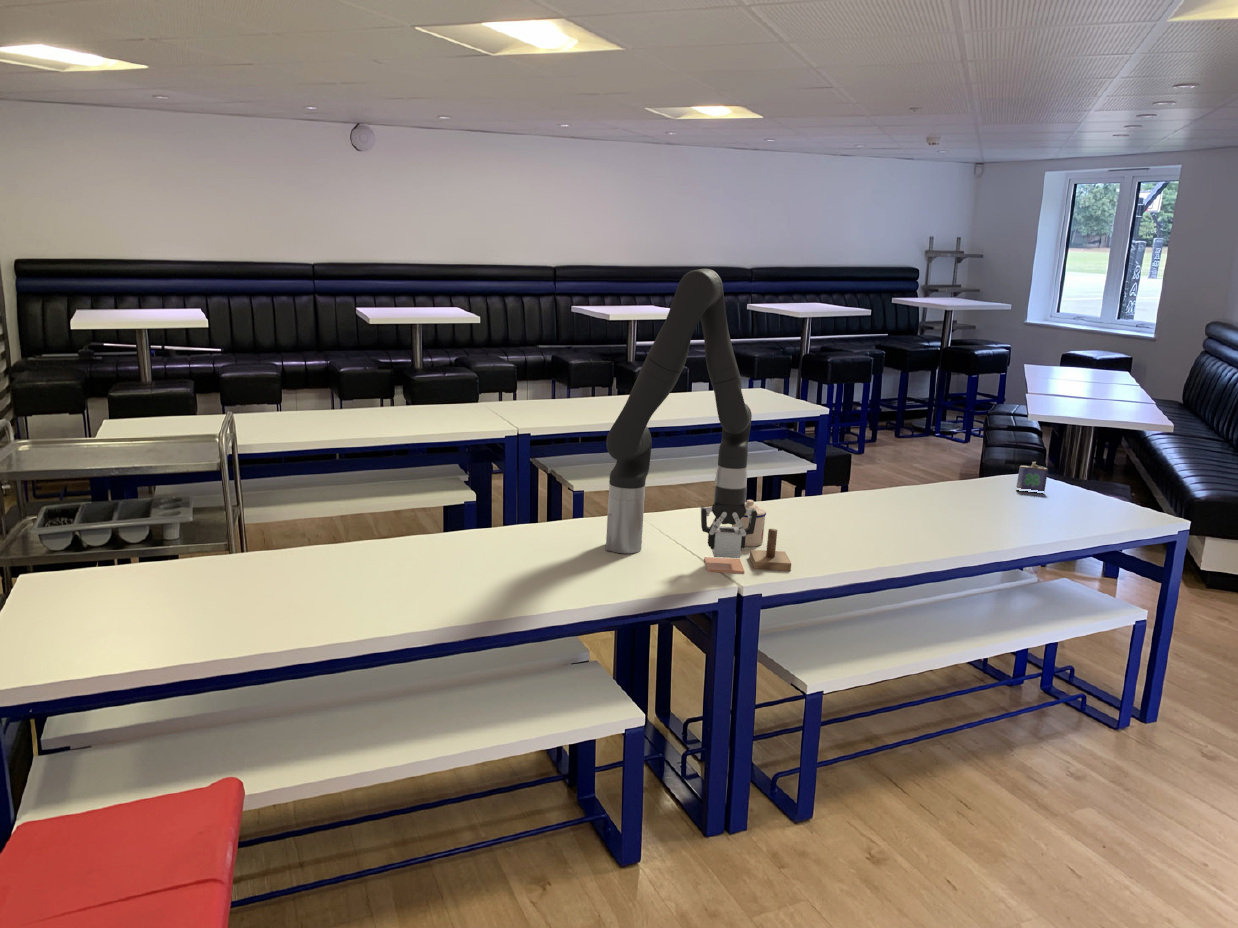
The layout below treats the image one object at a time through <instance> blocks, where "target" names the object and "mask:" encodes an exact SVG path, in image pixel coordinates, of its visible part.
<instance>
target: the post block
mask: <svg viewBox="0 0 1238 928" xmlns="http://www.w3.org/2000/svg"><path fill="white" fill-rule="evenodd" d="M767 531H768V532H767V540H766V541H767V544H766V550H764V549H763V550H762V549H750V550H749V559H750V562H751V564H752V566H753V569H754V570H763V571H765V570H766V571H767V570H768V571H783V572H787V571H788V572H791V571H792V562H791V560H790V557H788V555H787V553H786V551H785V550H784V551H782V550H776V547H777V538H778V529H775V528H768V530H767Z"/></svg>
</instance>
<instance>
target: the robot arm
mask: <svg viewBox="0 0 1238 928" xmlns="http://www.w3.org/2000/svg"><path fill="white" fill-rule="evenodd" d="M676 287H677V288H676V291H675V293H674V297H673V299H672V302H671V305H670V308H669V311H668V313H667V315H666V319H665V321H664V323H663V325H662V326H661V328H660V330H659V331H658V334H657V336H656V338H655V340H654V341H653V343H652V344H651V345H652V346H651V347H650V349H649V351H648V353H647V355H646V356H645V359H644V362H643V364H642V366H641V368H640V370H639V372H638V376H637V377H636V381H635V382H634V385H633V386H632V389H631V391H630V393H629V395H628V398H627V400H626V402H625V404H624V406H623V408H622V409H621V411H620V413H619V414H618V417H617V418H616V420H615V422H614V423H613V424H612V426H611V427H610V429H609V432H608V433H607V436H606V449H607V453H608V455H610V457H611V458H612V459H614V460H616V462H615V465H614V467H613V468H612V470H611V471H610V473H609V478H608V479H609V481H608V483H609V484H608V499H607V501H608V502H607V503H608V504H607V517H606V518H607V521H606V534H605V535H606V536H605V551H606V552H608V551H609V552H613V553H618V554H635V553H638V552H640V551H641V550H642V547H643V546H642V544H643V527H644V509H645V497H646V496H645V495H646V480H647V477H648V475H649V472H650V464H651V455H652V453H651V452H652V434H651V432H650V429H649V428H648V423H649V421H650V420H651V418H652V416H653V415H654V413H655V412H656V411H657V410H658V408H659V407H660V406H661V405H662V403H664V402H665V400H666V398H668V397H669V395H670V394H671V392H672V391H673V389H674V388H675V385H677V382H678V380H679V378H680V376H681V373H683V370H684V368H685V364H686V362H687V359H688V355H689V352H690V351H689V350H690V345H691V342H692V341H691V340H692V338H693V334H694V332H695V330H696V327H697V326H698V324H699V323H701V327H702V332H703V340H704V356H705V357H704V358H705V363H706V369H707V372H708V376H709V379H710V383H711V386H712V389H713V392H714V399H715V405H716V406H715V407H716V411H717V417H718V421H719V423H720V426H721V429H722V430H721V442H720V444H719V447H718V454H717V455H718V457H717V468H716V472H715V479H714V480H715V482H714V484H715V485H714V495H713V496H714V497H713V498H714V499H713V504H712V506H710V507H708V506H703V505H701V507H700V523H701V524H700V525H701V526H700V527H701V531H702V532H703V533H707V545H708V547H709V548H710V550H712V549H713V548H714V533H715V531H716V530H717V528H718V527H719V526H721V525H731V526H732V525H735V524H737V526H738V528H739V530H740V532H741V534H742V539H741V551H743V549H745V547H746V546H745V537H746V535H748V534H753V533H754V528H755V523H756V518H757V511H756V509H754V508H753V509H746V508H745V503H746V495H747V480H748V469H747V467H748V451H749V449H748V447H749V438H750V433H751V426H752V419H753V418H752V417H753V416H752V411H751V408H750V407H749V405H748V404H747V403H745V399H744V396H743V392H742V386H743V385H742V384H743V383H742V379H741V374H740V370H739V367H738V363H737V359H736V356H735V352H734V348H733V345H732V340H731V336H730V331H729V326H728V320H727V315H726V314H727V313H726V305H725V296H724V284H723V281H722V278H721V277H720V276H719V274H718V273H717V272H716V271H715V270H713V269H710V268H700V269H699V268H698V269H694V270H690V271H688V272H686V273H685V274H684V275H683V276H682V278H681V279H680V280H679V282H678V285H677V286H676ZM710 513H712V514H713V515H714V519H713V521H712V523H711V524H710V526H708V521H707V519H708V517H709V516H710ZM746 513H747V514H748V517H749V518H750V519H749V524H748V528H746V529H744V527H743V525H742V523H741V521H740V519H741V518H742V517H743V516H744V515H745V514H746Z"/></svg>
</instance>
